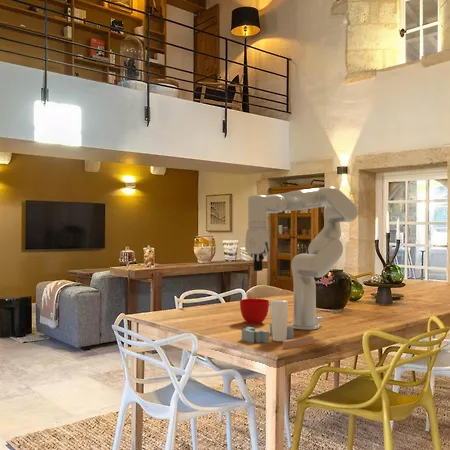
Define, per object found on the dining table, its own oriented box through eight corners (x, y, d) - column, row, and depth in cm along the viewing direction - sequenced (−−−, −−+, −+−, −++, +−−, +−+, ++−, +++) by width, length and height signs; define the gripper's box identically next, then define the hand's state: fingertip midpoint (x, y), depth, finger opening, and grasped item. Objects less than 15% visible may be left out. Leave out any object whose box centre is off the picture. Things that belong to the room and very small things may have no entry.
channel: (272, 333, 209) (272, 323, 209) (313, 343, 191) (313, 332, 191) (237, 338, 198) (237, 328, 198) (277, 350, 180) (277, 338, 180)
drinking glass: (277, 338, 200) (276, 299, 200) (292, 340, 195) (291, 300, 196) (267, 340, 194) (266, 301, 195) (281, 343, 190) (281, 302, 190)
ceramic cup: (266, 318, 242) (266, 297, 242) (270, 325, 225) (270, 302, 225) (238, 318, 241) (238, 297, 241) (240, 325, 224) (240, 302, 224)
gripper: (238, 225, 212) (239, 270, 212) (263, 225, 201) (264, 272, 201) (251, 225, 217) (252, 268, 217) (277, 225, 205) (277, 271, 205)
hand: (258, 270), depth 209 cm, fingers closed
